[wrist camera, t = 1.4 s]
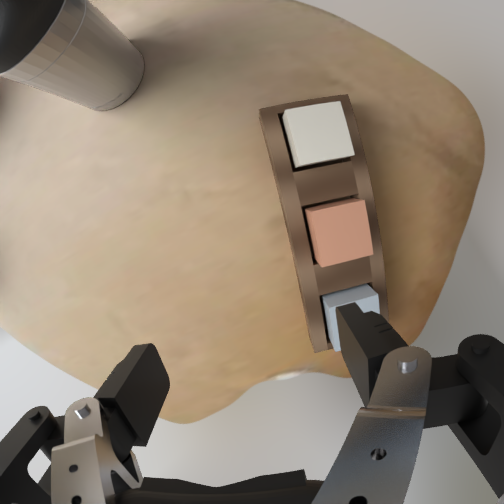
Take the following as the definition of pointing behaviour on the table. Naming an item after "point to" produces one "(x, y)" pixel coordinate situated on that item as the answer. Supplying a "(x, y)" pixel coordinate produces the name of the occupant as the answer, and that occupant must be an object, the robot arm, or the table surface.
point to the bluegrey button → (358, 294)
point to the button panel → (318, 193)
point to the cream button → (317, 133)
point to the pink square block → (339, 231)
